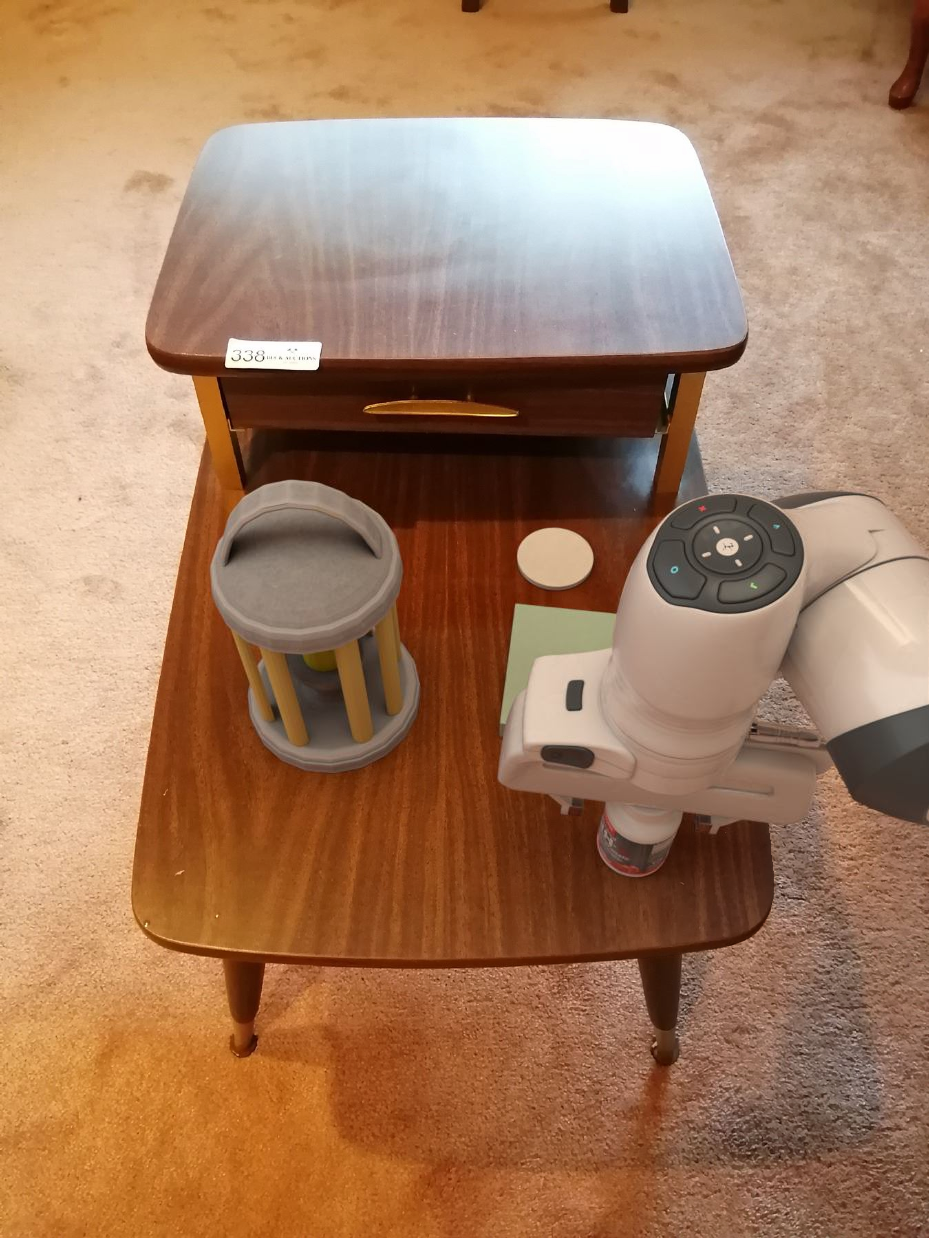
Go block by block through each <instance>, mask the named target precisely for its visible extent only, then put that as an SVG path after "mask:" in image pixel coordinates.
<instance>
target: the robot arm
mask: <svg viewBox="0 0 929 1238" xmlns="http://www.w3.org/2000/svg"><path fill="white" fill-rule="evenodd" d="M615 614H616V618H615V623H614V628H613V633H612V647H611V648H607V649H602V650H597V651H591V652H584V653H575V654H563V655H548V656H542V657H539V658H537V659H535V660H534V662H533V664H532V668H531V671H530V675H529V678H528V683H527V687H526V689H524V690H523V691H521V692H520V693H519V694H518V695H517V697H516V698H515V700H514V702H513V704H512V706H511V709H510V711H509V714H508V717H507V720H506V724H505V729H504V734H503V737H502V741H501V746H500V747H501V748H500V754H499V761H498V768H497V769H498V770H497V781H498V782H499V783H500V784H501V785H503V786H504V787H506V788H507V789H509V790H512V791H517V792H518V791H519V792H528V793H533V794H542V795H548V796H549V797H550V798H552V799H553V800H554V801H555V802H556V803H558V804H559V805H560V815H565V816H574V817H582V813H583V809H584V800H589V801H596V802H604V803H605V802H611V803H619V804H626V805H634V806H642V807H650V808H657V809H665V810H673V811H680V812H683V813H689V814H694V815H693V817H694V818H693V819H694V821H695V822H694V824H693V830H694V832H697V833H704V834H710V835H717V833H718V831H719V829H720V827H723V826H724V827H725V826H727V825H730V824H733V823H736V822H740V821H751V822H759V823H765V824H766V823H767V824H771V825H772V824H774V825H780V826H789V825H793V824H796V823H799V822H802V821H804V820H805V819H806V818H807V816H808V814H809V811H810V810H811V807H812V806H813V802H814V799H815V795H816V791H817V782H818V781H817V776H820V775H822V774H823V775H824V774H825V773H827V772H828V771H830V770H831V769H832V767H833V765H834V766H835V768H836V770H837V772H838V774H839V775H840V778H841V779H842V782H843V783H844V785H845V787H846V789H847V791H848V793H849V795H850V797H851V799H852V800H853V801H855V802H857V803H858V804H860V805H863V806H865V807H867V808H869V809H871V810H874V811H875V812H879V813H881V814H884V815H886V816H889V817H891V818H895V819H898V820H900V821H904V822H907V823H912V824H915V825H921V826H925V827H929V554H928V553H927V552H926V551H925V550H924V548H923V547H922V546H921V545H920V543H919V542H918V541H917V539H916V538H915V537H914V536H913V535H912V533H911V532H910V531H909V530H908V529H907V527H906V526H905V524H903V523H902V521H900V519H899V518H898V517H897V516H896V515H895V514H894V513H893V511H891V510H890V509H889V508H888V507H887V505H886V504H885V503H884V501H882V500H881V499H879V498H878V497H876V496H872V495H870V494H865V493H862V492H855V491H854V492H853V491H843V490H842V491H841V490H830V491H828V490H827V491H814V492H804V493H797V494H794V495H787V496H783V497H779V498H775V499H771V500H766V499H765V498H761V497H758V496H754V495H751V494H747V493H740V492H739V493H738V492H720V493H711V494H706V495H704V496H700V497H697V498H694V499H691V500H689V501H686V502H684V503H683V504H681V505H679V506H677V507H676V508H675V509H673V510H672V511H670V512H669V513H668V514H667V515H666V516H664V517H663V519H662V520H661V521H660V522H659V523H658V524H657V526H655V528H654V529H653V530H652V532H651V533H650V534H649V535H648V537H647V538H646V540H645V541H644V543H643V545H642V546H641V548H640V550H639V551H638V553H637V555H636V557H635V559H634V560H633V563H632V565H631V567H630V569H629V571H628V574H627V576H626V580H625V583H624V585H623V589H622V591H621V596H620V598H619V603H618V607H617V610H616V613H615ZM781 678H784V679H785V681H786V683H787V685H788V686H789V687H790V689H791V691H792V692H793V694H794V695H795V697H796V698H797V700H798V701H799V703H800V704H801V706H802V708H803V709H804V711H805V712H806V714H807V715H808V717H809V718H810V720H811V721H812V723H813V724H814V726H815V727H816V729H817V730H813V729H809V728H802V727H799V726H797V725H793V724H787V723H779V722H771V721H765V720H764V721H763V720H755V719H756V716H757V713H758V709H759V701H760V700H761V699H762V698H763V697H764V696H765V694H766V693H767V692H768V690H769V688H771V685H772V683H773V682H774V680H778V679H781Z"/></svg>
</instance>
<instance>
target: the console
mask: <svg viewBox="0 0 929 1238" xmlns="http://www.w3.org/2000/svg"><path fill="white" fill-rule="evenodd" d="M616 614H617V613H614V612H613V613H611V612H603V611H602V612H601V611H592V610H582V609H573V608H562V607H555V606H554V607H553V606H543V605H532V604H523V603H515V604H514V611H513V619H512V627H511V635H510V642H509V649H508V650H509V651H508V658H507V665H506V673H505V681H504V687H503V695H502V703H501V711H500V719H499V732H498V733H499V735H498V737H501V738H503V734H504V729H505V724H506V720H507V717H508V714H509V711H510V709H511V706H512V704H513V702H514V700H515V698H516V697H517V695H518V694H519V693H520V692H521V691H523V690H524V689H526V687H527V683H528V678H529V675H530V671H531V668H532V664H533V662H534V660H535V659H537V658H539V657H542V656H548V655H563V654H575V653H584V652H591V651H597V650H602V649H607V648H611V647H612V633H613V628H614V623H615V618H616Z"/></svg>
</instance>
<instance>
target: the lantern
mask: <svg viewBox="0 0 929 1238" xmlns="http://www.w3.org/2000/svg"><path fill="white" fill-rule="evenodd" d="M401 556H402V555H401V552H400V547H399V544H398V540H397V536H396V535H395V533H394V532H393V530H392V529H391V528H390V526H389V525H388V523H387V522H386V520H385V519H384V517H382V515H380V514H379V513H378V512H377V511H375V510H374V509H373V508H371V507H370V506H368V505H366V504H365V503H363V502H362V501H361V500H359V499H356V498H352V497H351V496H349V495H347V494H346V493H345V492H343V491H341V490H339V489H336V488H334V487H332V486H331V487H330V486H328V485H325V484H324V483H320V482H317V481H308V480H299V479H286V480H282V481H276V482H271V483H267V484H264V485H262V486H260V487H258V488H256V489H255V490H253V491H251V492H249V493H248V494H246V495H245V496H243V497H242V498H241V499H240V500H239V502H238V503H237V504H236V506H235V507H234V508H233V509H232V510H231V512H230V514H229V516H228V518H227V521H226V524H225V528H224V532H223V535H222V536H221V538H220V539H219V540H218V542H217V545H216V548H215V551H214V554H213V556H212V560H211V563H210V566H209V571H210V572H209V573H210V586H211V595H212V599H213V602H214V603H215V604H214V605H215V606H216V608H217V610H218V612H219V614H220V615H221V617H222V619H223V621H224V623H225V624H226V626H227V627H228V628H229V629H230V631H231V634H232V637H233V639H234V643H235V646H236V649H237V651H238V653H239V657H240V660H241V662H242V665H243V668H244V671H245V673H246V676H247V680H248V682H249V687H248V692H247V699H248V710H249V717H250V720H251V723H252V726H253V727H254V729H255V731H256V733H257V735H258V737H259V739H260V740H261V742H262V744H263V746H264V747H266V748H267V750H269V751H270V752H271V753H272V754H273V755H275V757H277V758H278V759H279V760H280V761H282V762H283V763H286V764H289V765H291V766H293V767H296V768H298V769H300V770H303V771H305V772H313V773H314V772H315V773H326V774H338V773H342V772H348V771H353V770H359V769H362V768H364V767H366V766H368V765H370V764H372V763H374V762H376V761H378V760H380V759H382V758H384V757H386V756H387V755H388V754H390V752H392V750H394V749H395V748H396V747H397V746H398V745H399V744H400V743H401V742H402V741H403V740H404V739H405V738H406V737H407V735H408V733H409V731H410V729H411V727H412V726H413V724H414V722H415V721H416V718H417V716H418V711H419V704H420V699H421V684H420V683H421V682H420V679H419V674H418V671H417V665H416V661H415V660H414V659H413V657H412V655H411V654H410V652H409V651H408V649H407V648H406V646H405V645H404V644H403V642H401V635H400V627H399V619H398V618H399V617H398V610H397V609H398V608H397V599H398V597H399V596H400V590H401V586H402V580H403V575H404V568H403V561H402V557H401ZM251 645H254V646H256V647H259V651H260V655H261V659H260V660H259V662H258V663H257V661H256V657H255V655H254V651H253V649H252V646H251Z"/></svg>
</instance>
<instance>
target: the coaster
mask: <svg viewBox="0 0 929 1238" xmlns="http://www.w3.org/2000/svg"><path fill="white" fill-rule="evenodd" d="M516 555H517V556H516V564H517V567H518V571H519V572H520V574H521V575H522V576H523V578H524V579H525V580H527V581H528V582H529V583H531V584H532V585H533V586H535V587H537V588H540V589H544V590H548V591H565V590H569V589H573V588H575V587H578V586H579V585H581V584H582V583H583V582H585V580H587V579H588V577H589V576H590V575H591V573H592V570H593V566H594V552H593V549H592V547H591V546H590V544H589V542H588V541H587V540H586V539H585V538H584V537H582V536H581V535H580V534H579V533H576V532H574V531H573V530H570V529H566V528H561V527H546V528H542V529H538V530H535V531H534V532H532V533H530V534H529V535H527V536H526V537H525V538H524V539H523V540H522V541H521V543H520V544H519V546H518V548H517V554H516Z"/></svg>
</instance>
